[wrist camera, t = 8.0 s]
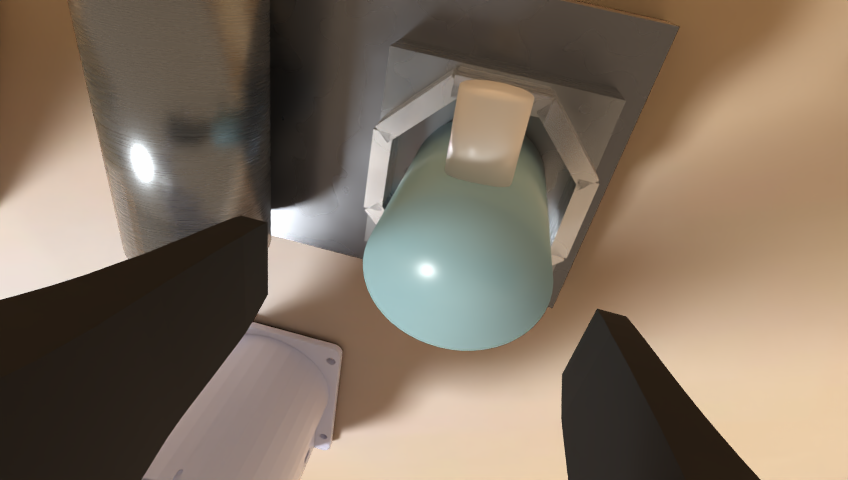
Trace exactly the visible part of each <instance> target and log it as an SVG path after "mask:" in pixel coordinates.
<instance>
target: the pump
mask: <svg viewBox="0 0 848 480" xmlns="http://www.w3.org/2000/svg"><path fill="white" fill-rule="evenodd" d="M533 102H534V96H533V95H532V94H531V93H530V92H528V91H526V90H524V89H522V88H519V87H516V86H513V85H509V84H505V83H501V82H496V81H488V80H466V81H463V82H461V83H460V84H459V89H458V95H457V100H456V106H455V112H454V118H453V121H451V122H449V123H447V124H445V125H443V126H441V127H440V128H438V129H437V130H435V131H434V132H433V133H432V134H431V135H430V136H429V137H428V138H427V139H426V140H425V141H424V143H423V144H422V145H421V147H420V149H419V150H418V152H417V154H416V156H415V157H414V159H413V161H412V163H411V164H410V166H409V168H408V170H407V172H406V173H405V175H404V177H403V179H402V180H401V182H400V184H399V186H398V187H397V189H396V191H395V193H394V194H393V196H392V198H391V200H390V202H389V203H388V205H387V207H386V209H385V210H384V212H383V214H382V216H381V217H380V219H379V221H378V223H377V224H376V226H375V228H374V230H373V232H372V233H371V235H370V237H369V239H368V241H367V244H366V247H365V251H364V257H363V273H364V279H365V283H366V286H367V289H368V291H369V293H370V296H371V298H372V299H373V301H374V303H375V304H376V306H377V307H378V309H379V310H380V311H381V312H382V313H383V315H384V316H385V317H386V318H387V319H388V320H389V321H390V322H391V323H393V324H394V325H395V326H396V327H398V328H399V329H400V330H402V331H403V332H405V333H406V334H408V335H410V336H412V337H414V338H416V339H418V340H420V341H422V342H425V343H427V344H430V345H433V346H437V347H441V348H446V349H451V350H461V351H475V350H485V349H490V348H495V347H498V346H501V345H504V344H507V343H509V342H511V341H513V340H516V339H517V338H519V337H520V336H522V335H524V334H525V333H526V332H528V331H529V330H530V329H531V328H532V327H533V326H534V325H535V324H536V323H537V322H538V321H539V320H540V318H541V317H542V316H543V314H544V313H545V311H546V309H547V307H548V305H549V302H550V299H551V295H552V290H553V268H552V255H551V243H550V230H549V217H548V204H547V191H546V178H545V169H544V165H543V161H542V159H541V156H540V154H539V152H538V150H537V148H536V147H535V146H534V144H533V143H532V142H531V140H530V139H529V138H528V137H527V136H526V135H525V132H526V128H527V124H528V121H529V117H530V113H531V110H532V106H533Z"/></svg>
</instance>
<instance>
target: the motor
mask: <svg viewBox="0 0 848 480" xmlns="http://www.w3.org/2000/svg"><path fill="white" fill-rule="evenodd" d="M68 4H69V9H70V13H71V18H72V22H73V27H74V31H75V36H76V40H77V44H78V49H79V53H80V58H81V62H82V67H83V71H84V76H85V80H86V84H87V89H88V93H89V98H90V102H91V107H92V111H93V116H94V120H95V124H96V129H97V133H98V138H99V142H100V147H101V151H102V156H103V160H104V164H105V169H106V173H107V178H108V182H109V187H110V191H111V196H112V200H113V204H114V209H115V213H116V218H117V222H118V227H119V231H120V236H121V240H122V244H123V249H124V252H125V255H126V256H127V258H128V259H131V258H133V257H136V256H139V255H142V254H144V253H147V252H150V251H152V250H154V249H157V248H159V247H162V246H164V245H167V244H169V243H172V242H174V241H177V240H179V239H182V238H184V237H187V236H189V235H192V234H194V233H196V232H199V231H201V230H204V229H206V228H209V227H211V226H214V225H216V224H219V223H221V222H224V221H226V220H229V219H232V218H235V217H238V216H241V215H242V216H245V217H249V218H253V219H257V220H261V221H264V222H268V247H269V245H270V242H271V235H272V236H276V237H280V238H284V239H288V240H291V241H295V242H299V243H303V244H307V245H311V246H315V247H318V248H322V249H326V250H330V251H334V252H338V253H342V254H345V255H349V256H353V257H357V258H361V259H363V257H364V251H365V247H366V244H367V241H368V239H369V237H370V235H371V233H372V232H373V230H374V228H375V226H376V224H377V223H378V221H379V219H380V217H381V216H382V214H383V212H384V210H385V209H386V207H387V205H388V203H389V202H390V200H391V198H392V196H393V194H394V193H395V191H396V189H397V187H398V186H399V184H400V182H401V180H402V179H403V177H404V175H405V173H406V172H407V170H408V168H409V166H410V164H411V163H412V161H413V159H414V157H415V156H416V154H417V152H418V150H419V149H420V147H421V145H422V144H423V143H424V141H425V140H426V139H427V138H428V137H429V136H430V135H431V134H432V133H433V132H434V131H435V130H437V129H438V128H440V127H441V126H443V125H445V124H447V123H449V122H451V121H453V118H454V112H455V106H456V100H457V95H458V89H459V84H460V83H461V82H463V81H466V80H488V81H496V82H501V83H505V84H509V85H513V86H516V87H519V88H522V89H524V90H526V91H528V92H530V93H531V94H532V95H533V96H534V102H533V106H532V110H531V113H530V117H529V121H528V124H527V128H526V132H525V135H526V136H527V137H528V138H529V139H530V140H531V142H532V143H533V144H534V146H535V147H536V148H537V150H538V152H539V154H540V156H541V159H542V161H543V165H544V169H545V178H546V191H547V204H548V217H549V230H550V243H551V255H552V268H553V290H552V295H551V299H550V302H549V305H548V307H550V308H553V306H554V304H555V301H556V299H557V297H558V295H559V292H560V290H561V288H562V286H563V284H564V281H565V279H566V277H567V275H568V273H569V270H570V268H571V266H572V264H573V261H574V259H575V257H576V255H577V253H578V250H579V248H580V246H581V244H582V242H583V239H584V237H585V235H586V233H587V231H588V228H589V226H590V224H591V222H592V219H593V217H594V215H595V213H596V211H597V208H598V206H599V204H600V202H601V200H602V197H603V195H604V193H605V191H606V188H607V186H608V184H609V182H610V180H611V177H612V175H613V173H614V171H615V169H616V166H617V164H618V162H619V160H620V157H621V155H622V153H623V151H624V149H625V146H626V144H627V142H628V140H629V138H630V135H631V133H632V131H633V129H634V126H635V124H636V122H637V120H638V118H639V115H640V113H641V111H642V109H643V107H644V104H645V102H646V100H647V98H648V95H649V93H650V91H651V89H652V87H653V84H654V82H655V80H656V78H657V76H658V73H659V71H660V69H661V67H662V64H663V62H664V60H665V58H666V56H667V53H668V51H669V49H670V47H671V45H672V42H673V40H674V38H675V36H676V34H677V31H678V29H679V26H677V25H675V24H672V23H670V22H667V21H665V20H660V19H656V18H651V17H647V16H642V15H638V14H633V13H629V12H624V11H620V10H615V9H611V8H606V7H602V6H597V5H593V4H588V3H584V2H579V1H575V0H68Z"/></svg>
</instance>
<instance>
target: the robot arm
mask: <svg viewBox="0 0 848 480" xmlns="http://www.w3.org/2000/svg"><path fill="white" fill-rule="evenodd" d="M267 295H268V222H264V221H261V220H257V219H253V218H249V217H245V216H242V215H241V216H238V217H235V218H232V219H229V220H226V221H224V222H221V223H219V224H216V225H214V226H211V227H209V228H206V229H204V230H201V231H199V232H196V233H194V234H192V235H189V236H187V237H184V238H182V239H179V240H177V241H174V242H172V243H169V244H167V245H164V246H162V247H159V248H157V249H154V250H152V251H150V252H147V253H144V254H142V255H139V256H136V257H133V258H131V259H128V260H125V261H122V262H120V263H117V264H114V265H111V266H109V267H106V268H103V269H100V270H98V271H95V272H92V273H89V274H86V275H83V276H80V277H77V278H74V279H71V280H68V281H65V282H61V283H58V284H55V285H52V286H48V287H45V288H41V289H38V290H34V291H31V292H27V293H24V294H20V295H17V296H13V297H9V298H6V299H2V300H0V480H300V478H301V476H302V474H303V471H304V469H305V466H306V464H307V462H308V459H309V457H310V455H311V452H312V450H313V448H314V447H315V448H318V449H322V450H328V449H329V448H330V446H331V444H332V437H333V429H334V420H335V412H336V403H337V395H338V386H339V378H340V370H341V361H342V349H341V348H340V347H339V346H338V345H336V344H332V343H329V342H325V341H321V340H318V339H314V338H310V337H306V336H303V335H299V334H295V333H292V332H288V331H284V330H281V329H277V328H273V327H270V326H266V325H262V324H258V323H255V322H253V320H254V318H255V317H256V315H257V313H258V311H259V309H260V308H261V306H262V304H263V302H264V300H265V298H266V297H267ZM331 358H332V359H331ZM561 419H562V429H563V438H564V447H565V456H566V465H567V473H568V480H760V479H759V478H758V476H757V475H756V474H755V473H754V472H753V471H752V470H751V469H750V468H749V467H748V466H747V464H746V463H745V462H744V461H743V460H742V459H741V458H740V457H739V455H738V454H737V453H736V452H735V451H734V450H733V449H732V447H731V446H730V445H729V444H728V443H727V442H726V440H725V439H724V438H723V437H722V436H721V435H720V434H719V432H718V431H717V430H716V429H715V428H714V427H713V425H712V424H711V423H710V422H709V421H708V419H707V418H706V417H705V416H704V415H703V413H702V412H701V411H700V410H699V408H698V407H697V406H696V405H695V404H694V402H693V401H692V400H691V399H690V397H689V396H688V395H687V394H686V392H685V391H684V390H683V388H682V387H681V386H680V385H679V383H678V382H677V381H676V380H675V378H674V377H673V376H672V374H671V373H670V372H669V370H668V369H667V368H666V367H665V365H664V364H663V363H662V361H661V360H660V359H659V357H658V356H657V355H656V353H655V352H654V351H653V350H652V348H651V347H650V346H649V344H648V343H647V342H646V340H645V339H644V338H643V337H642V335H641V334H640V333H639V331H638V330H637V329H636V328H635V326H634V325H633V324H632V323H631V322H630V320H629V319H628V318H627V317H626V316H622V315H618V314H615V313H611V312H607V311H603V310H599V309H597V310H596V312H595V314H594V316H593V317H592V319H591V321H590V323H589V325H588V327H587V329H586V331H585V332H584V334H583V336H582V338H581V340H580V342H579V344H578V346H577V347H576V349H575V351H574V353H573V355H572V357H571V359H570V361H569V362H568V364H567V366H566V368H565V370H564V372H563V374H562V416H561Z"/></svg>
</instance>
